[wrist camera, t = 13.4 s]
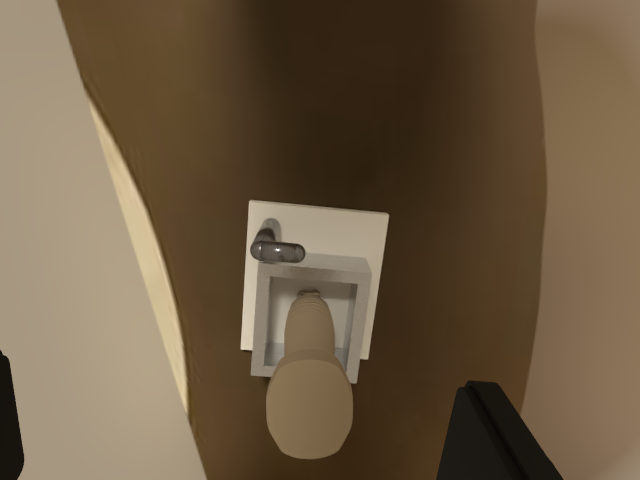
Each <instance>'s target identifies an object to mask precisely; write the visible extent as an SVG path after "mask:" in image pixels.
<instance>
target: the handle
mask: <svg viewBox="0 0 640 480" xmlns="http://www.w3.org/2000/svg"><path fill="white" fill-rule="evenodd" d="M266 413H267V424H268V428H269V431H270V433H271V435H272V437H273V438H274V440H275V442H276V443H277V445H278V447H279V448H280V450H281V451H282V452H283V453H285V454H287V455H289V456H291V457H294V458H300V459H318V458H323V457H327V456H330V455H332V454H334V453H336V452H337V451H339V449H340V447H341V446H342V444H343V442H344V441H345V439H346V437H347V435H348V433H349V431H350V429H351V426H352V420H353V395H352V388H351V384H350V381H349V379H348V377H347V375H346V372H345V370H344V368H343V366H342V365H341V363H340V361H339V359H338V358H337V357H336V356H335V332H334V325H333V320H332V316H331V312H330V310H329V307H328V304H327V302H326V301H324V300H323V299H322V297H321V295H320V292H319V291H317V290H313V291H305V290H301V291H300V292H299V293H298V297H297V299H296V300H295V301H294V302H292V304H291V307H290V309H289V312H288V316H287V320H286V325H285V332H284V357H282V358H281V359H280V361H279V363H278V365H277V367H276V369H275V371H274V373H273V375H272V378H271V380H270V382H269V385H268V390H267V397H266Z"/></svg>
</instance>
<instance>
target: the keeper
mask: <svg viewBox="0 0 640 480" xmlns="http://www.w3.org/2000/svg"><path fill="white" fill-rule="evenodd" d="M388 219H389V215H388V213H383V212H373V211H362V210H352V209H341V208H331V207H320V206H310V205H300V204H289V203H279V202H268V201H258V200H250V201H249V212H248V230H247V247H246V265H245V283H244V300H243V318H242V336H241V349H242V350H252V364H251V375H253V376H266V377H272V375H273V373H274V371H275V369H276V367H277V365H278V363H279V361H280V359H281V358H282V357H284V332H285V325H286V320H287V316H288V312H289V309H290V307H291V304H292V302H294V301H295V300H296V299H297V297H298V293H299V292H300V291H301V290H305V291H313V290H317V291H319V292H320V295H321V297H322V299H323V300H324V301H326V302H327V304H328V307H329V310H330V312H331V316H332V320H333V325H334V332H335V356H336V357H337V358H338V359H339V361H340V363H341V365H342V366H343V368H344V370H345V372H346V375H347V377H348V379H349V381H350V383H356V384H357V377H358V370H359V363H360V359H367V360H368V356H369V349H370V342H371V335H372V328H373V322H374V315H375V308H376V301H377V294H378V288H379V281H380V274H381V267H382V260H383V253H384V247H385V240H386V233H387V226H388Z"/></svg>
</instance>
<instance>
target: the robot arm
mask: <svg viewBox="0 0 640 480" xmlns="http://www.w3.org/2000/svg"><path fill="white" fill-rule="evenodd" d="M23 465H24V453H23V447H22V440H21V434H20V428H19V421H18V414H17V408H16V401H15V395H14V388H13V382H12V375H11V369H10V363H9V359H8V358H7V357H6V356H4V355H3V354H2V352H1V350H0V480H17V479H18V477H19V476H20V473H21V471H22V469H23ZM436 480H563V478H562V477H561V475H560V474H559V472H558V471H557V470H556V468H555V466H554V465H553V463H552V462H551V461H550V460H549V458H548V457H547V456H546V454H545V453H544V451H543V450H542V449H541V448H540V446H539V444H538V443H537V441H536V439H535V438H534V436H533V435H532V434H531V432H530V431H529V429H528V428H527V426H526V425H525V423H524V422H523V420H522V419H521V417H520V416H519V414H518V413H517V411H516V410H515V408H514V407H513V405H512V404H511V402H510V401H509V399H508V398H507V396H506V395H505V393H504V392H503V390H502V389H501V387H500V386H499V385H498V384H497V383H495V382H483V381H468V382H467V383H466V385H465V387H459V388H458V390H457V393H456V397H455V401H454V405H453V410H452V414H451V418H450V423H449V427H448V431H447V435H446V440H445V444H444V448H443V452H442V457H441V461H440V465H439V470H438V474H437V478H436Z"/></svg>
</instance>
